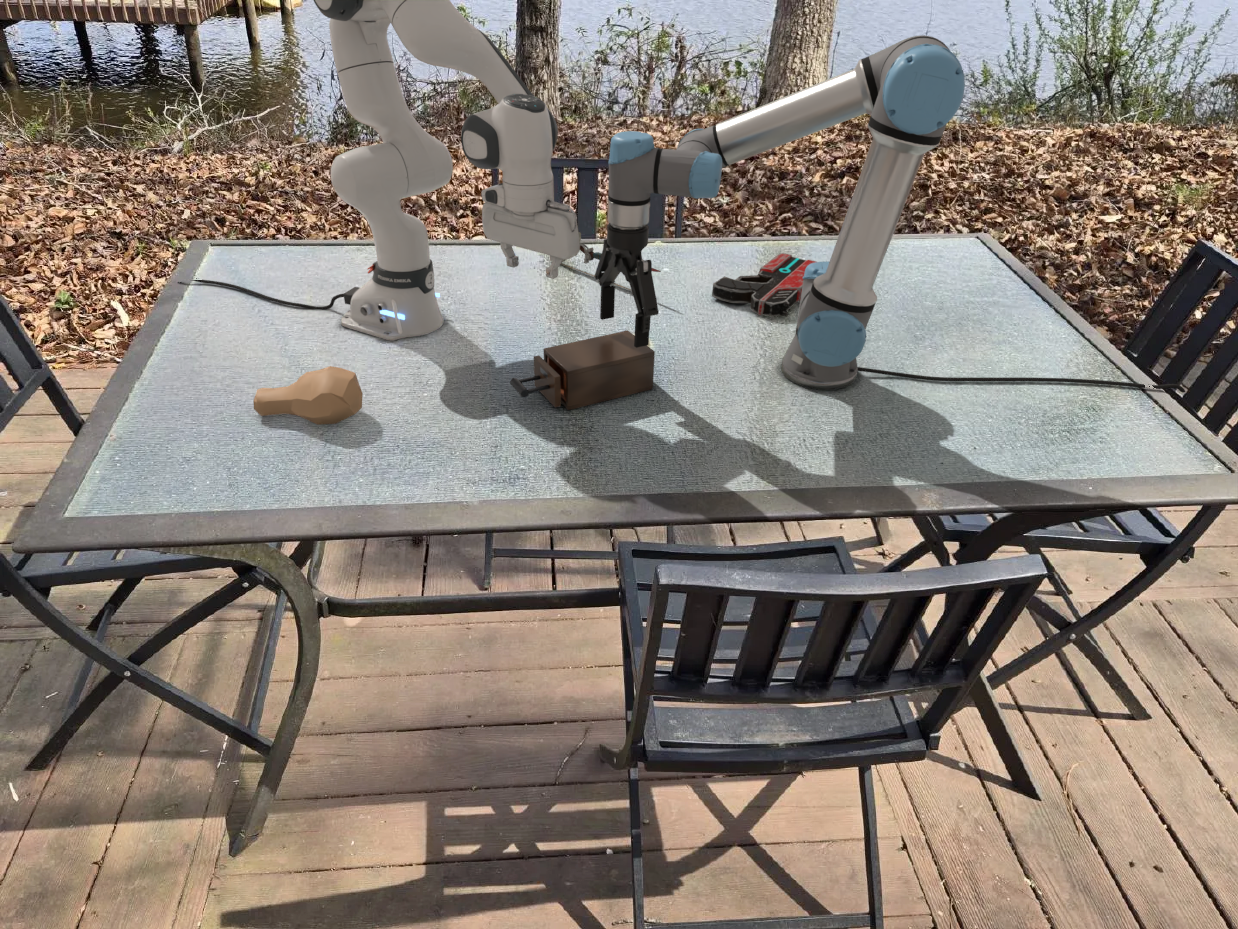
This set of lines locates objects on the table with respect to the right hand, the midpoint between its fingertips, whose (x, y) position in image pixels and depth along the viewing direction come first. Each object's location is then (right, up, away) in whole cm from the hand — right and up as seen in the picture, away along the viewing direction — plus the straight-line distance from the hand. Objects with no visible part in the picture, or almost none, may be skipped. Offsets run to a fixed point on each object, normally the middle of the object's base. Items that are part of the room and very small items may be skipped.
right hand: (623, 331), depth 169 cm
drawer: (-10, -11, +1) cm, 15 cm away
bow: (-5, +21, +50) cm, 55 cm away
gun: (+37, +17, +47) cm, 62 cm away
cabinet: (-5, -11, +4) cm, 12 cm away
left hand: (-17, +10, -9) cm, 21 cm away
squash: (-58, -17, -8) cm, 61 cm away
